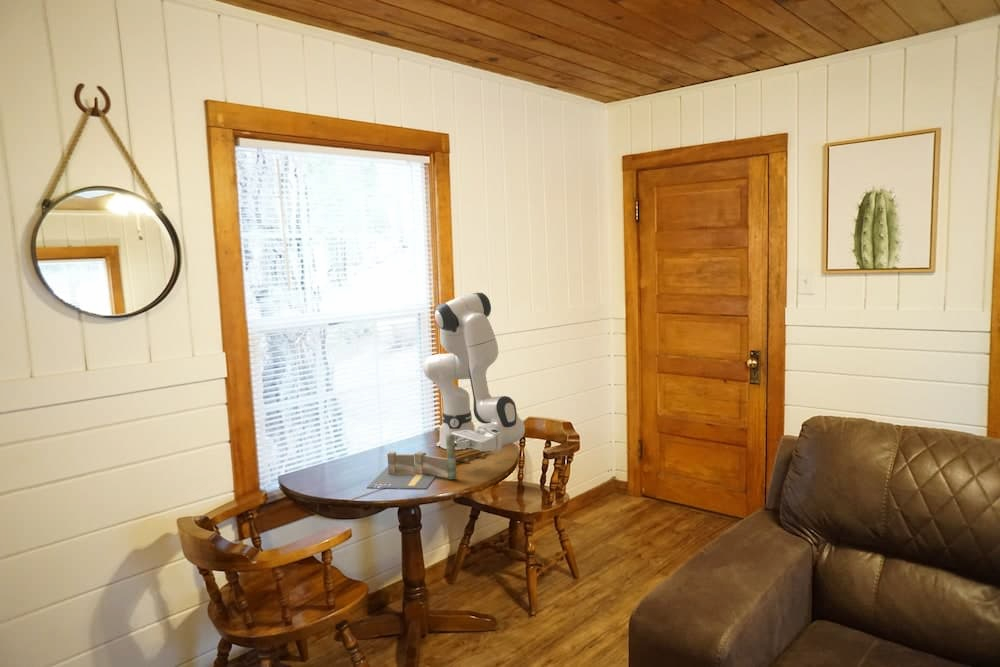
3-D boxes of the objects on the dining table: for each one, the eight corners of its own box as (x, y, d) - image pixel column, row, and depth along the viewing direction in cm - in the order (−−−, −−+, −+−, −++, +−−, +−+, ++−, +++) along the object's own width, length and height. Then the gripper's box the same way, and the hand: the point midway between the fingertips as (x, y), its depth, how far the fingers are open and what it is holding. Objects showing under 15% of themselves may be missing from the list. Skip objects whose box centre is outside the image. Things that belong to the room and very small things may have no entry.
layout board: (389, 465, 254) (389, 464, 254) (443, 466, 251) (443, 464, 251) (366, 488, 228) (366, 487, 228) (426, 489, 225) (426, 487, 225)
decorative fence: (429, 463, 252) (446, 468, 245) (429, 458, 252) (446, 463, 245) (478, 450, 270) (495, 455, 263) (478, 445, 270) (495, 450, 263)
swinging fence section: (420, 470, 244) (418, 429, 242) (458, 477, 235) (456, 434, 233) (415, 472, 241) (413, 431, 240) (453, 479, 232) (451, 436, 230)
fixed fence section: (390, 471, 245) (389, 451, 244) (415, 472, 243) (414, 452, 242) (388, 473, 242) (387, 453, 241) (413, 474, 241) (412, 453, 240)
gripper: (469, 423, 250) (438, 430, 241) (503, 433, 234) (471, 440, 225) (470, 440, 250) (439, 447, 242) (504, 450, 234) (472, 459, 226)
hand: (455, 444), depth 233 cm, fingers closed, pressing on swinging fence section
